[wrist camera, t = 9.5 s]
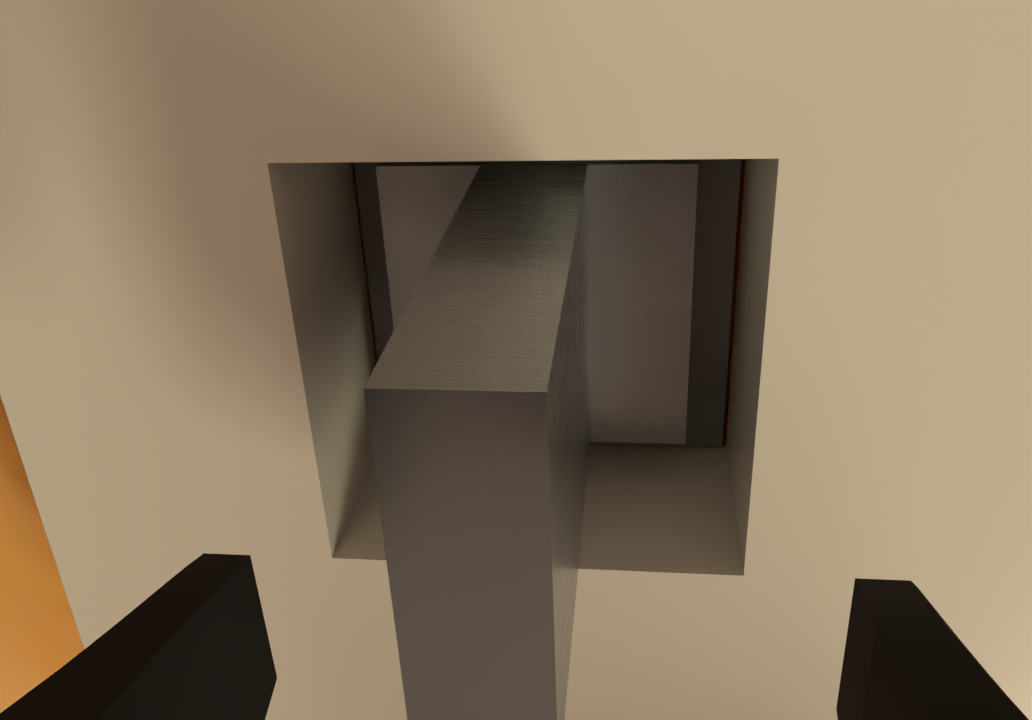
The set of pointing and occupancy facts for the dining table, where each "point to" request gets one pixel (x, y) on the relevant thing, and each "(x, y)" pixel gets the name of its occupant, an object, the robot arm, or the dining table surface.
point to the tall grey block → (516, 402)
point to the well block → (611, 465)
